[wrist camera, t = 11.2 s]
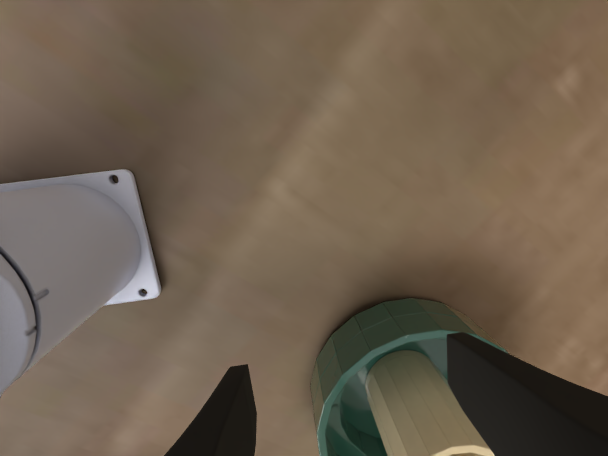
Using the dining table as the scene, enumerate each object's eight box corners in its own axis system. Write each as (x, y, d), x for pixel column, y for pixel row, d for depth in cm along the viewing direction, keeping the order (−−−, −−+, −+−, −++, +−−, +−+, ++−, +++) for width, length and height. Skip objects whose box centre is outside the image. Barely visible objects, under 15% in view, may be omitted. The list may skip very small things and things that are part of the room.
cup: (364, 417, 23) (403, 538, 16) (365, 353, 22) (407, 451, 15) (435, 410, 24) (505, 525, 16) (439, 346, 22) (517, 440, 15)
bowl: (320, 463, 24) (329, 530, 20) (300, 309, 21) (305, 350, 17) (484, 436, 25) (527, 496, 21) (487, 283, 22) (538, 315, 18)
